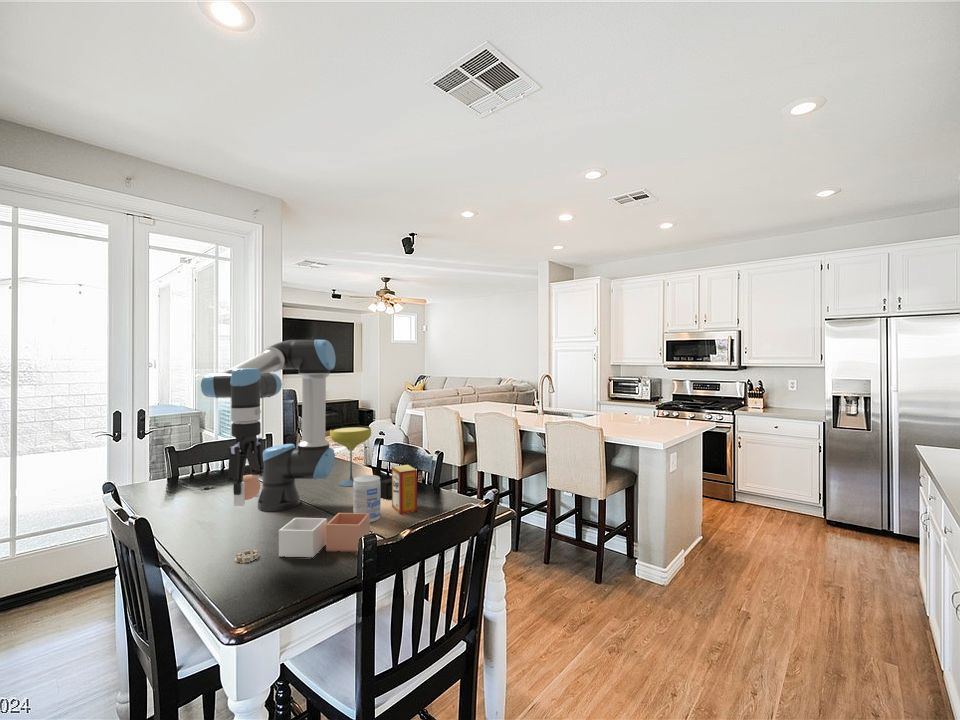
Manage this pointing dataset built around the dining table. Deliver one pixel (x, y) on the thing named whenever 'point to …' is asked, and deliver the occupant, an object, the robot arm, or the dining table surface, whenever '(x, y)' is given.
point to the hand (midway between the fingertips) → (247, 500)
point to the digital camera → (386, 489)
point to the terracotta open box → (346, 531)
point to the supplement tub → (367, 496)
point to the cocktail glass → (350, 442)
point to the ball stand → (239, 558)
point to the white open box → (302, 537)
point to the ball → (250, 486)
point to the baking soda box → (404, 488)
